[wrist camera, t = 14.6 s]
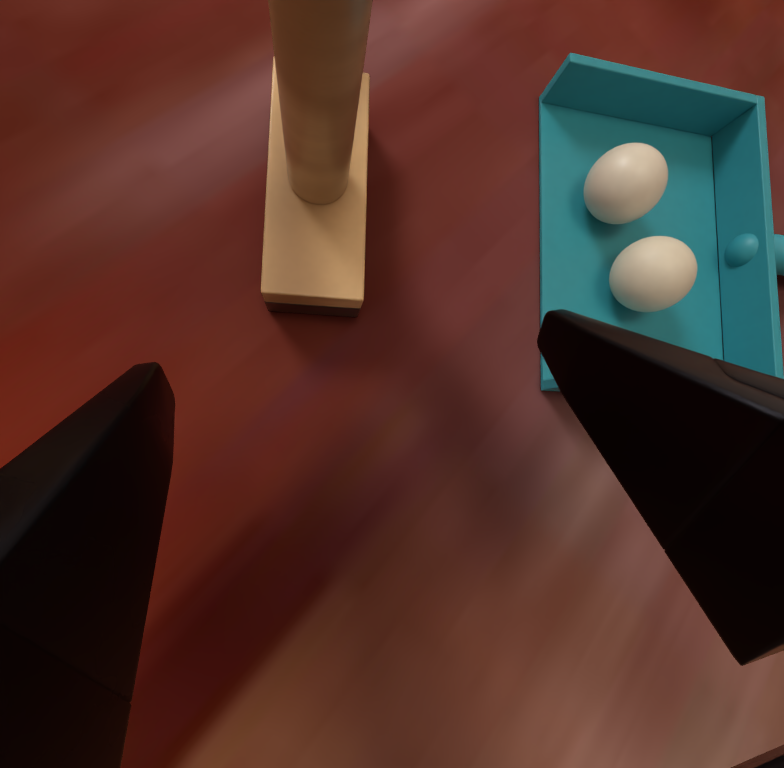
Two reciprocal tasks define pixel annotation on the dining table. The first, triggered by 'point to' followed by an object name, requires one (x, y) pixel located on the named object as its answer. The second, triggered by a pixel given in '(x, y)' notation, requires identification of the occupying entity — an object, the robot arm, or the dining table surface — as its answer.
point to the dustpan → (663, 207)
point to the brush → (317, 158)
